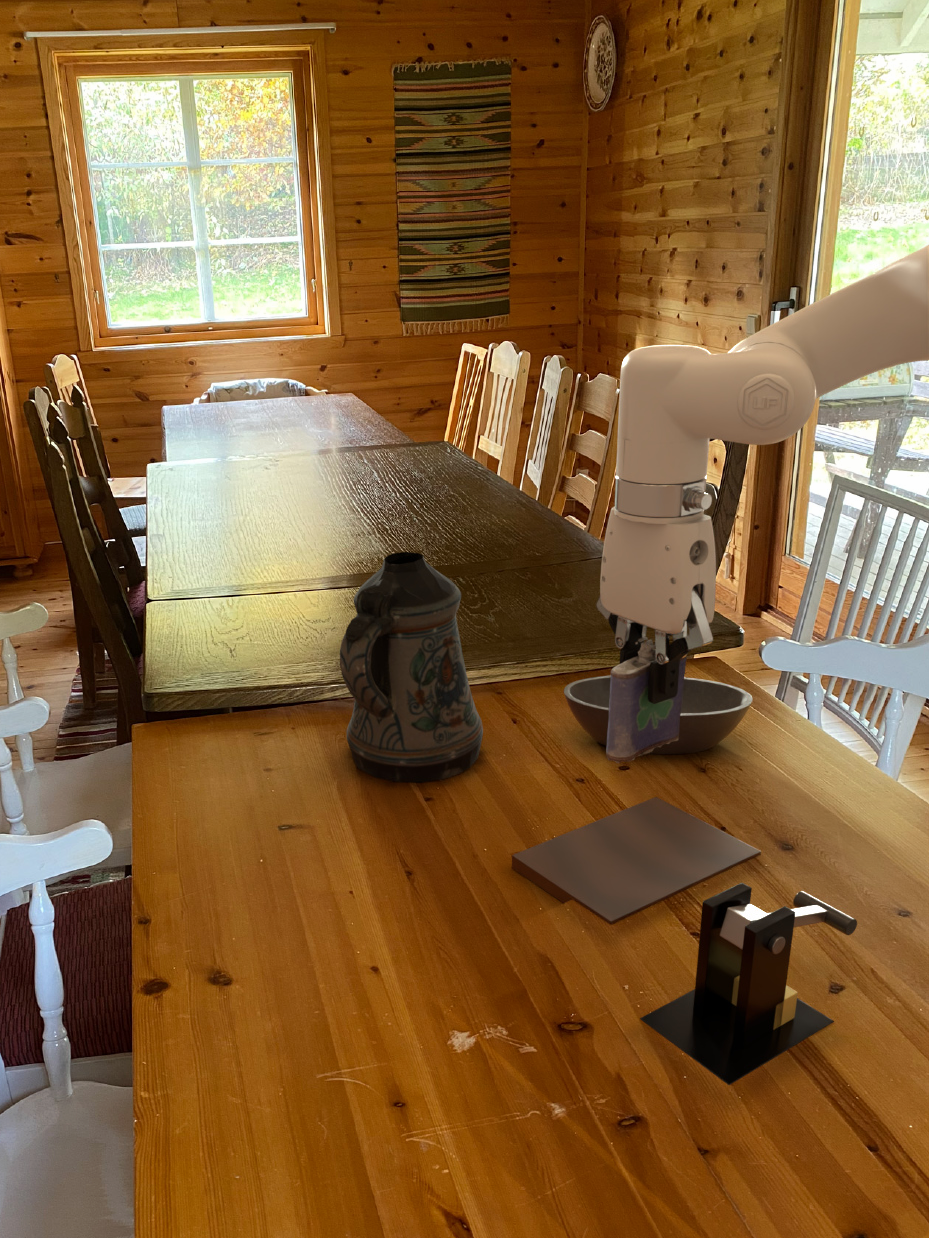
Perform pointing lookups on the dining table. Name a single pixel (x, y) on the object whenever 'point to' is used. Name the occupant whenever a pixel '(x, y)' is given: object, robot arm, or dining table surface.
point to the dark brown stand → (707, 1014)
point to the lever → (806, 914)
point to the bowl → (702, 715)
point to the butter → (787, 1007)
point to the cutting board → (631, 859)
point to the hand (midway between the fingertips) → (647, 691)
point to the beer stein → (409, 676)
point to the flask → (640, 709)
